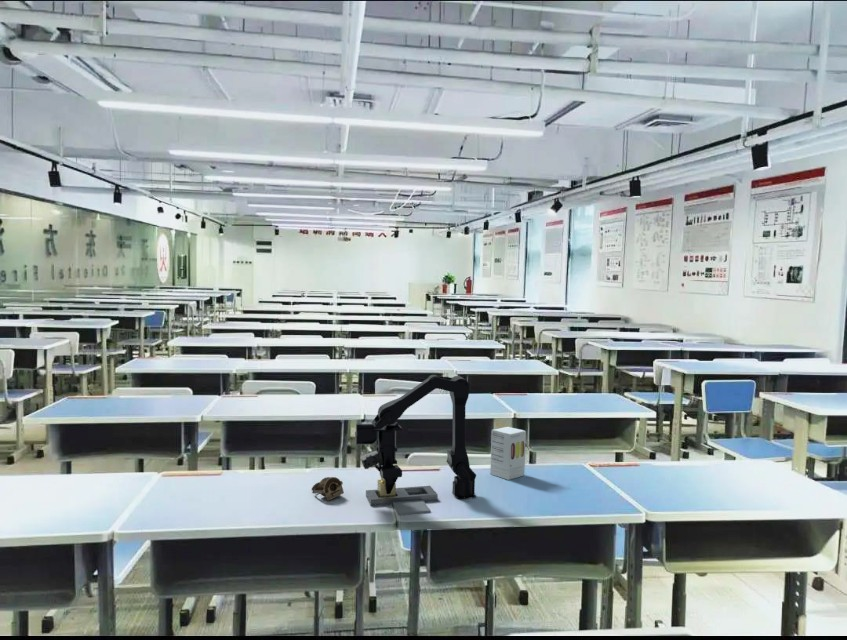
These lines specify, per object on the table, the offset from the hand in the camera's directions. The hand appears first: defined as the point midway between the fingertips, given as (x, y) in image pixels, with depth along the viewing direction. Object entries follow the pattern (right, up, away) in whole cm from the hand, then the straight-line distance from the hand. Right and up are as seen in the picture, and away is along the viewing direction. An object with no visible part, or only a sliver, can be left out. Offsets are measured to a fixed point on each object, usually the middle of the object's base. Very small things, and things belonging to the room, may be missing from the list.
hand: (386, 491), depth 204 cm
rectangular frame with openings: (+5, -3, +1) cm, 6 cm away
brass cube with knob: (0, -3, 0) cm, 3 cm away
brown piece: (-20, -3, +4) cm, 20 cm away
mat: (+8, -3, -7) cm, 11 cm away
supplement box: (+43, -2, +28) cm, 52 cm away
